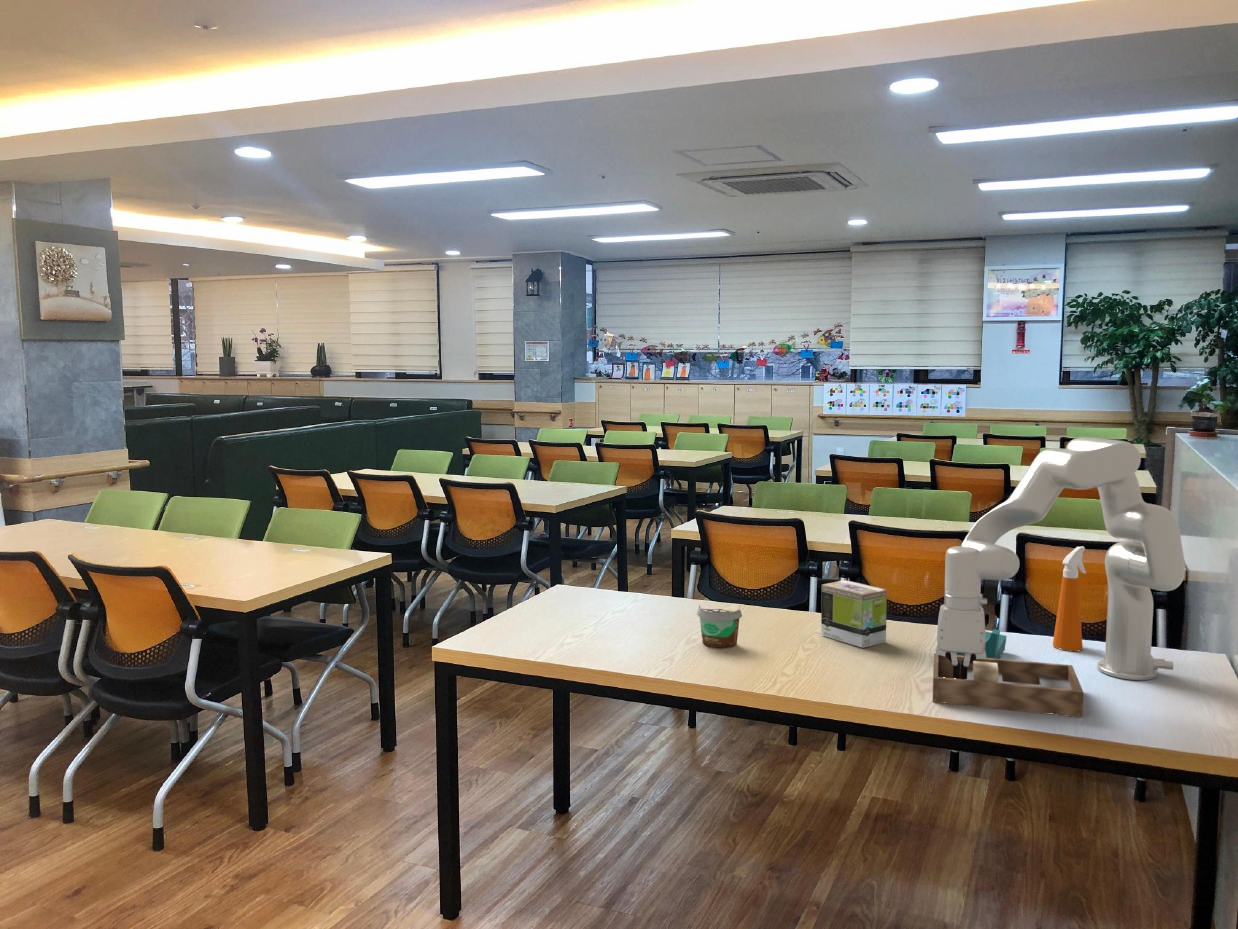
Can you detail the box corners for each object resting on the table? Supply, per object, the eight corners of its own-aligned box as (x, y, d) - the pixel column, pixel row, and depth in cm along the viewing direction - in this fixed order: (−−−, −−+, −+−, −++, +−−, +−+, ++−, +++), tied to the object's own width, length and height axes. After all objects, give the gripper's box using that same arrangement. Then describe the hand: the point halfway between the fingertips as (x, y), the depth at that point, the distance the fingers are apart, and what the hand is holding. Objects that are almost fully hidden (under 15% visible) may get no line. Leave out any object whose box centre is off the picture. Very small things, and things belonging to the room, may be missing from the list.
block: (996, 684, 207) (997, 663, 206) (997, 692, 202) (998, 670, 201) (972, 682, 208) (973, 661, 208) (973, 689, 204) (974, 668, 203)
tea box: (887, 642, 246) (888, 588, 245) (862, 649, 241) (862, 594, 239) (844, 629, 259) (845, 578, 257) (819, 635, 253) (820, 583, 252)
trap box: (1071, 688, 210) (1072, 665, 210) (1082, 717, 194) (1083, 692, 193) (933, 675, 220) (934, 653, 220) (932, 702, 204) (933, 678, 203)
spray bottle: (1095, 645, 241) (1099, 547, 238) (1073, 653, 235) (1077, 552, 232) (1069, 639, 247) (1073, 543, 244) (1047, 646, 241) (1051, 548, 238)
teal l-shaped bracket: (992, 675, 222) (997, 634, 220) (946, 664, 227) (951, 624, 225) (1004, 654, 237) (1009, 616, 235) (960, 644, 242) (965, 606, 241)
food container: (691, 647, 245) (691, 610, 244) (698, 640, 250) (697, 605, 249) (736, 652, 240) (736, 615, 239) (742, 645, 246) (742, 609, 245)
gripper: (997, 600, 206) (994, 679, 208) (927, 595, 211) (925, 672, 213) (999, 609, 199) (996, 690, 201) (926, 603, 204) (924, 683, 206)
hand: (959, 681), depth 207 cm, fingers closed
